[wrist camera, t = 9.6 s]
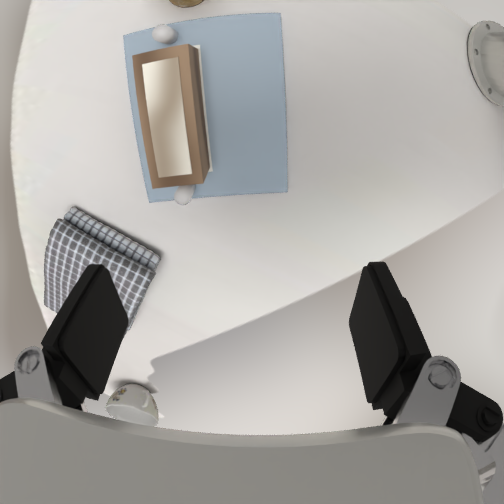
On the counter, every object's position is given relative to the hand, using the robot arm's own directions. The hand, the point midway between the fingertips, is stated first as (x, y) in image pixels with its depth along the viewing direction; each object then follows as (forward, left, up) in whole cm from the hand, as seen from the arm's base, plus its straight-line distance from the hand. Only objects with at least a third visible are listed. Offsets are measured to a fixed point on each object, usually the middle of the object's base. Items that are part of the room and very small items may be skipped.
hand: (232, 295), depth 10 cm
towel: (+22, +16, -24) cm, 36 cm away
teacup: (+29, +51, -24) cm, 63 cm away
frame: (+6, -4, -22) cm, 24 cm away
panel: (+4, -4, -23) cm, 24 cm away
